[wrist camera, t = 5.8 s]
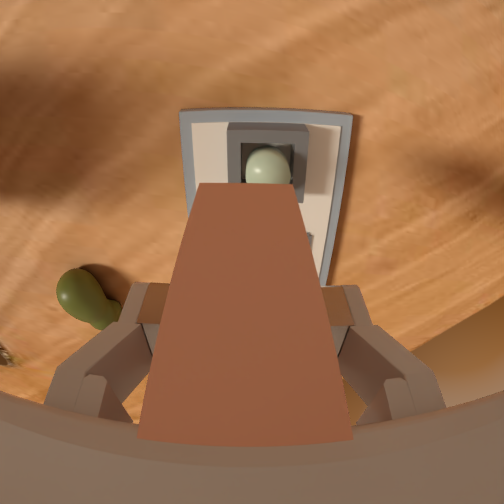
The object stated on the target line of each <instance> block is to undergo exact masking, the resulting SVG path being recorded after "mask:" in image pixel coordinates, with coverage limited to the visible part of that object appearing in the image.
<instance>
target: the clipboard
mask: <svg viewBox="0 0 504 504" xmlns="http://www.w3.org/2000/svg"><path fill="white" fill-rule="evenodd" d="M179 120H180V134H181V147H182V159H183V170H184V181H185V191H186V201H187V210H188V218H189V215H190V212H191V208H192V205H193V202H194V199H195V195H196V192H197V189H198V186H199V183H228V168H227V127H228V124H229V122H268V123H296V124H305V125H306V127H307V129H308V130H309V132H310V133H309V145H308V157H307V169H306V180H305V191H304V201H303V203H298V204H299V208H300V211H301V215H302V218H303V222H304V225H305V229H306V232H307V236H308V240H309V243H310V247H311V251H312V255H313V258H314V262H315V266H316V270H317V274H318V278H319V282H320V286H326V281H327V276H328V271H329V266H330V261H331V256H332V251H333V246H334V240H335V235H336V229H337V224H338V218H339V212H340V206H341V200H342V194H343V188H344V181H345V174H346V167H347V160H348V153H349V145H350V137H351V129H352V120H353V115H352V114H350V113H345V112H334V111H323V110H309V109H291V108H258V107H230V108H197V109H181V110H180V111H179ZM264 145H270V146H274V147H277V148H278V149H280V150H281V151H282V152H283V153H284V154H285V156H286V158H287V162H288V166H289V169H290V154H291V144H283V143H242V179H246V161H247V158H248V156H249V154H250V153H251V152H252V151H253V150H254V149H256V148H257V147H260V146H264Z"/></svg>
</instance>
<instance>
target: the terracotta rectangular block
mask: <svg viewBox="0 0 504 504" xmlns="http://www.w3.org/2000/svg"><path fill="white" fill-rule="evenodd" d="M137 438H138V439H144V440H152V441H160V442H168V443H178V444H190V445H205V446H228V447H271V446H294V445H309V444H320V443H330V442H339V441H347V440H354V439H353V434H352V428H351V423H350V418H349V412H348V407H347V402H346V397H345V392H344V387H343V382H342V377H341V372H340V367H339V363H338V358H337V354H336V349H335V345H334V340H333V336H332V331H331V327H330V323H329V318H328V314H327V310H326V306H325V302H324V298H323V294H322V290H321V286H320V282H319V278H318V274H317V270H316V266H315V262H314V258H313V255H312V251H311V247H310V243H309V240H308V236H307V232H306V229H305V225H304V222H303V218H302V215H301V211H300V208H299V204H298V201H297V197H296V194H295V190H294V187H293V184H267V183H199V186H198V189H197V192H196V195H195V199H194V202H193V205H192V208H191V212H190V215H189V218H188V222H187V225H186V228H185V232H184V235H183V239H182V242H181V246H180V249H179V253H178V256H177V260H176V264H175V267H174V271H173V275H172V279H171V282H170V286H169V290H168V294H167V298H166V302H165V306H164V310H163V314H162V318H161V322H160V326H159V331H158V335H157V339H156V343H155V348H154V352H153V357H152V361H151V366H150V371H149V376H148V380H147V385H146V390H145V395H144V400H143V406H142V411H141V416H140V422H139V427H138V433H137Z"/></svg>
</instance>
